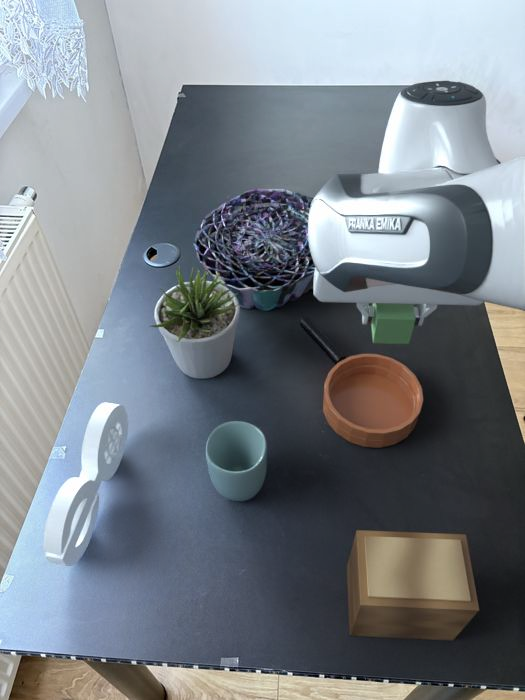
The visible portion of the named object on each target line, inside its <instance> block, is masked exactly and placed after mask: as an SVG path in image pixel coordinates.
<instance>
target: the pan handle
mask: <svg viewBox="0 0 525 700" xmlns="http://www.w3.org/2000/svg"><path fill="white" fill-rule="evenodd" d="M298 324H299V327H300V328H301V329H302V330H303V331H304V332H305V334H307V335H308V336H309V337H310V339H311V340H312V341H313V342H314V343H315V344H316V345H317V346H318V347H319V349H320V350H321V351H322V352H323V353H324V354H325V355H326V356H327V357H328V358H329V360H330V361H331V362H332V363H333V364H334V366H335V365H336V364H337V363H338V362H340V361H342V360H344V359H346V358H347V356H346V355H345V354H344V353H343V352H342V351H341V349H339V347H337V345H336V344H334V342H333V341H332V340H331V339H330V338H329V337H328V336H327V335H326V333H324V332H323V331H322V330H321V329H320V327H319V326H318V325H317V324H316V323H315V322H314V321H313V320H312V319H311V318H310V317H309V316H304V317H302V318H301V319H300V321H299V323H298Z"/></svg>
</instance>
